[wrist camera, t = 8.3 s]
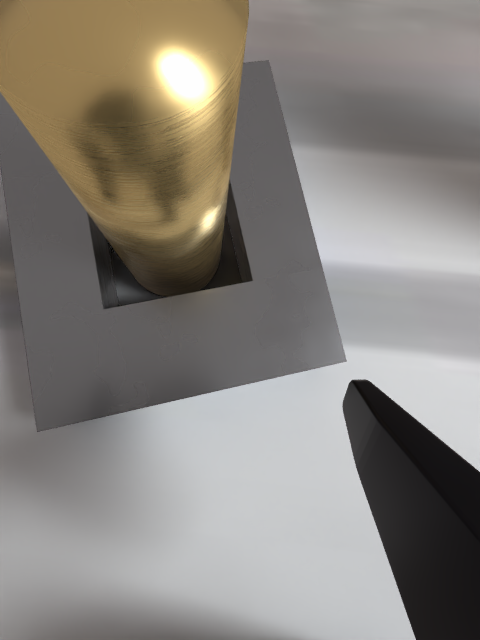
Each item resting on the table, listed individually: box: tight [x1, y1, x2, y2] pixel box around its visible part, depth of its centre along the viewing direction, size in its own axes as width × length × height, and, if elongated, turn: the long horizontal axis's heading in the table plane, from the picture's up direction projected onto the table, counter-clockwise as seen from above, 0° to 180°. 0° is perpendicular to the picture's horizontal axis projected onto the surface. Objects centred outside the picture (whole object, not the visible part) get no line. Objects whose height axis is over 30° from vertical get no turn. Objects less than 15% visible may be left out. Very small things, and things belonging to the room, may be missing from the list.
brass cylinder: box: [0, 0, 249, 297], centre depth 12 cm, size 5×5×12 cm
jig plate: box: [0, 60, 346, 432], centre depth 16 cm, size 14×12×3 cm
